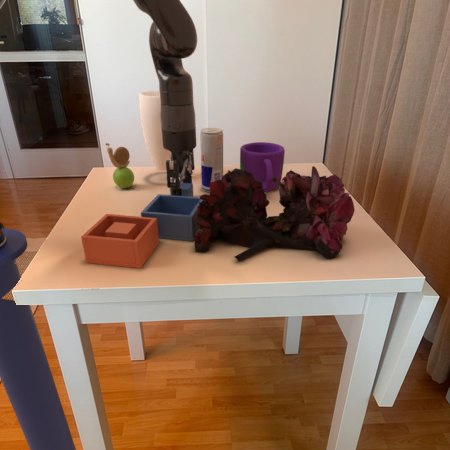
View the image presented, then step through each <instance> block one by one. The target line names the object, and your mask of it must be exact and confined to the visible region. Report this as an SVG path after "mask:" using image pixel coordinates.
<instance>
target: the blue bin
mask: <svg viewBox="0 0 450 450" xmlns="http://www.w3.org/2000/svg"><path fill="white" fill-rule="evenodd" d="M198 201H199V202H202V201H203V200H201V199H200V196H193V197H188V196H175V195H170V194H162V193H160V194H159V193H157V194H156V195H155V197H154V198H153V199H151V201H150V202H149V203H148V204H147V205H146V207H144V208H143V210H142V211H141V212H140V217H149V218H157V224H158V235H159V239H165V240H174V241H175V240H176V241H185V242H186V241H187V242H194V241H195V235H197V234H198V233H200V232H199V231H201V230H200V228H199V227H200V226H197V224H196V223H195V221H194V220H195V219H196V218H197V207H198V206H199V202H198Z"/></svg>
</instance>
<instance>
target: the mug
mask: <svg viewBox="0 0 450 450" xmlns="http://www.w3.org/2000/svg"><path fill="white" fill-rule="evenodd" d="M285 153H286V150H285V147H284V146H282V145H281V144H278V143H273V142H265V141H263V142H262V141H256V142H248V143H245V144H243V145H241V147H240V149H239V169H242V170H245V171H246V172H249V173H252V175H253V177H254V179H255V181H261V182H262V187H261V190H263V191H264V193H269V192H270V191H272V190H275V189H276V188H279V186H278V185H277V183H276V182H273V181H272V177H276V178H278V179H279V180H280V182H282V178H283V177H282V176H283V171H284V163H285Z"/></svg>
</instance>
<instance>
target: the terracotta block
mask: <svg viewBox="0 0 450 450" xmlns="http://www.w3.org/2000/svg"><path fill="white" fill-rule="evenodd" d="M105 234H106V237H110V238H121V239H131V240H135V239H136V238H137V236H138V234H137V226H136V224H131V223H120V222H114V223H113V224H112V225H111V226H110V227H109V228H108V229H107V230H106V231H105Z"/></svg>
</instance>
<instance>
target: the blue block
mask: <svg viewBox="0 0 450 450" xmlns="http://www.w3.org/2000/svg"><path fill="white" fill-rule="evenodd" d="M174 183H176V181H174ZM169 193H170V194H169V195H172V188H169ZM182 196H188V197H194V183H193V182H192V183H183V182H182Z"/></svg>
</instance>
